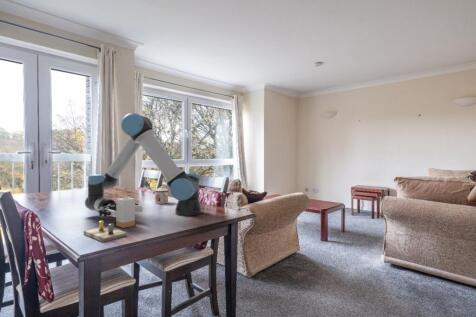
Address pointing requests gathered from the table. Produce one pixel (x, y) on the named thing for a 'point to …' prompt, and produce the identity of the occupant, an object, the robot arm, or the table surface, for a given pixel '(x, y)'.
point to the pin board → (104, 234)
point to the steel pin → (110, 228)
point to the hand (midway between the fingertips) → (129, 211)
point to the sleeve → (125, 212)
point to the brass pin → (101, 225)
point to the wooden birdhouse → (161, 195)
